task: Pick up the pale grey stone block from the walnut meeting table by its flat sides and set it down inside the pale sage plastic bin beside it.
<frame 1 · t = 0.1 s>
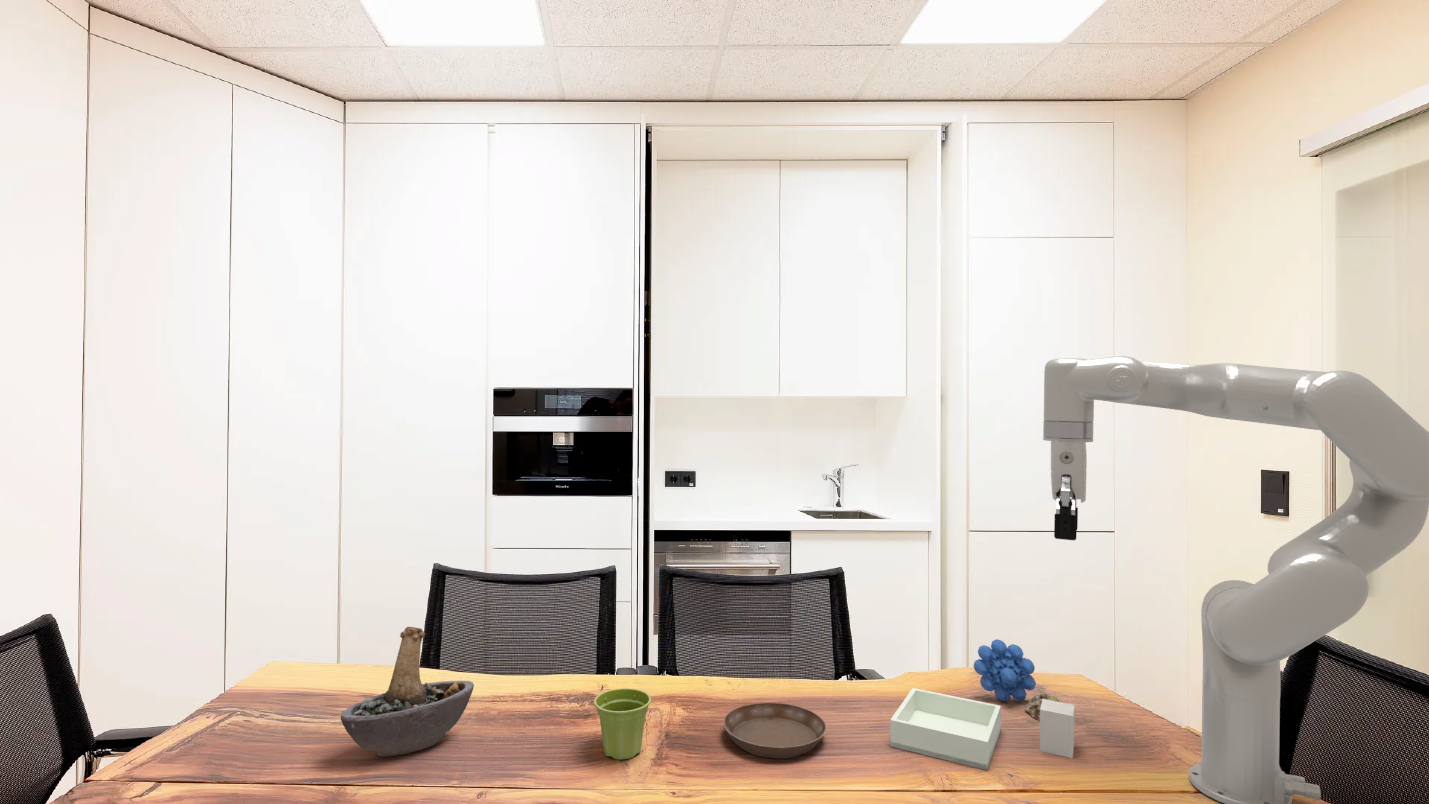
hand: (1066, 534, 120), 37 cm above the table, tool pointing down, fingers open, 9 cm apart
plant saucer: (774, 741, 124), on the table
blue knobby lump: (1005, 704, 140), on the table
stone block: (1056, 748, 122), on the table
mineral rock: (1049, 718, 134), on the table
sage bin: (946, 738, 125), on the table
planter: (409, 750, 119), on the table
plant pot: (622, 752, 119), on the table
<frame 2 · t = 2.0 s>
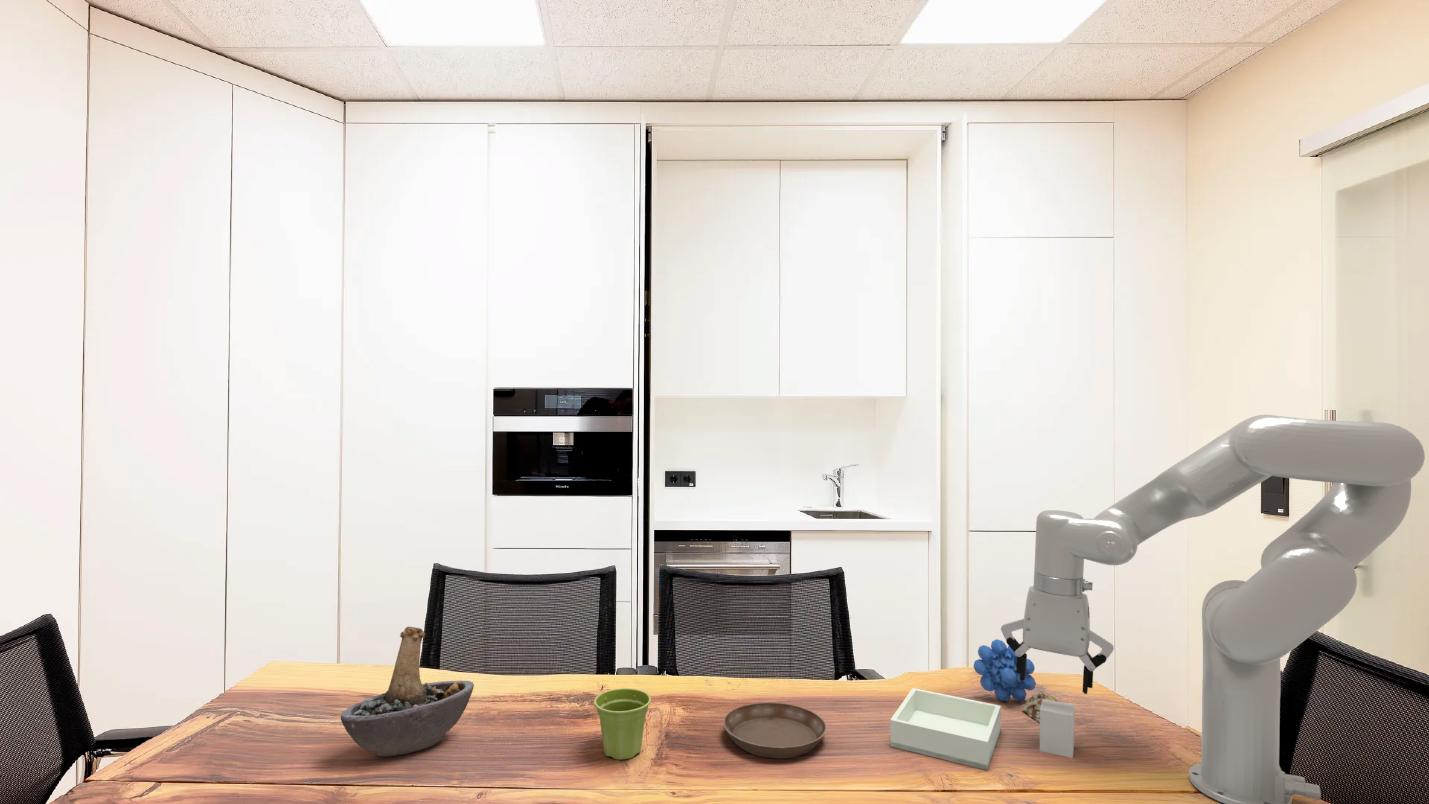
hand: (1053, 684, 122), 11 cm above the table, tool pointing down, fingers open, 9 cm apart
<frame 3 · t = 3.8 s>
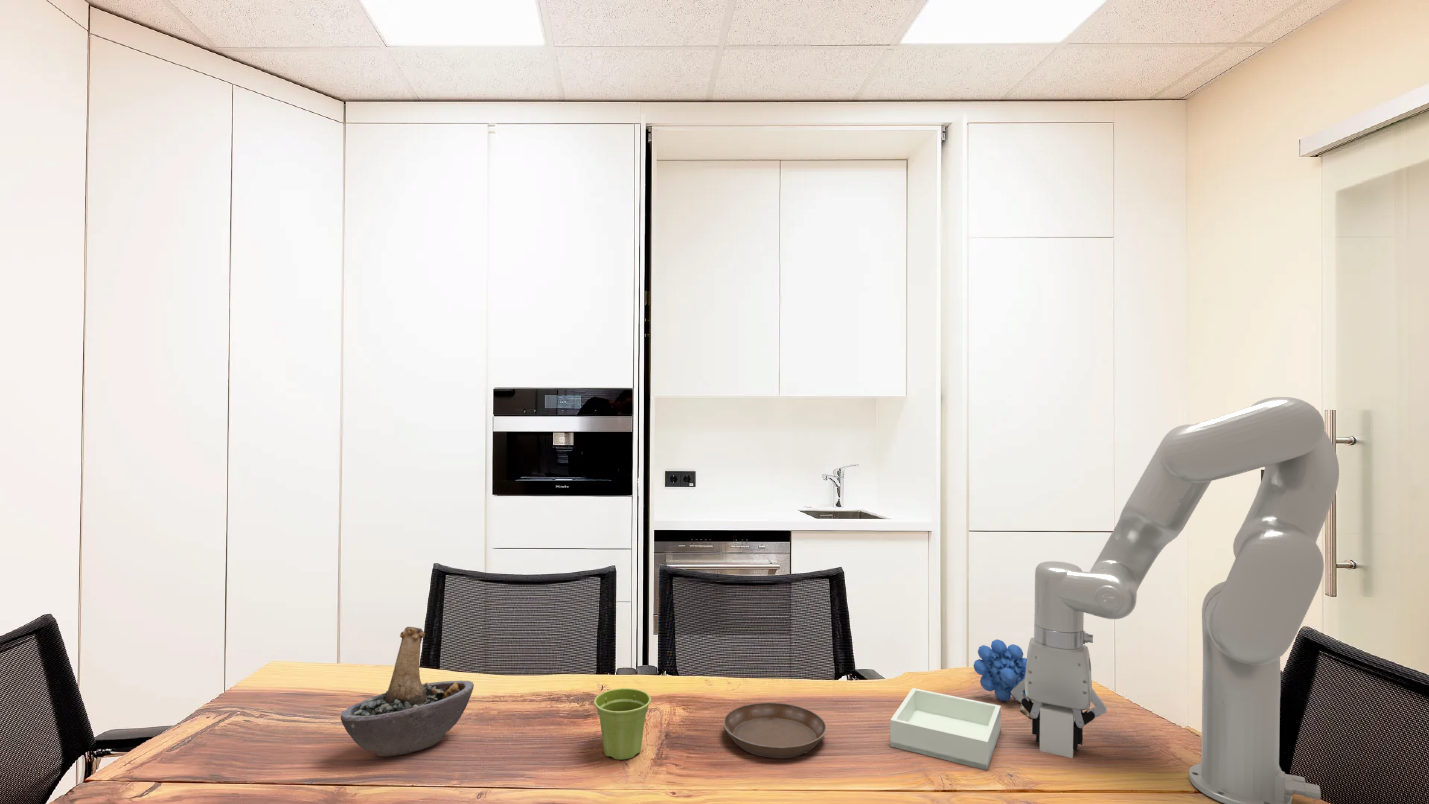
hand: (1056, 742, 122), 1 cm above the table, tool pointing down, fingers closed on stone block, 5 cm apart
stone block: (1056, 748, 122), on the table, touching gripper
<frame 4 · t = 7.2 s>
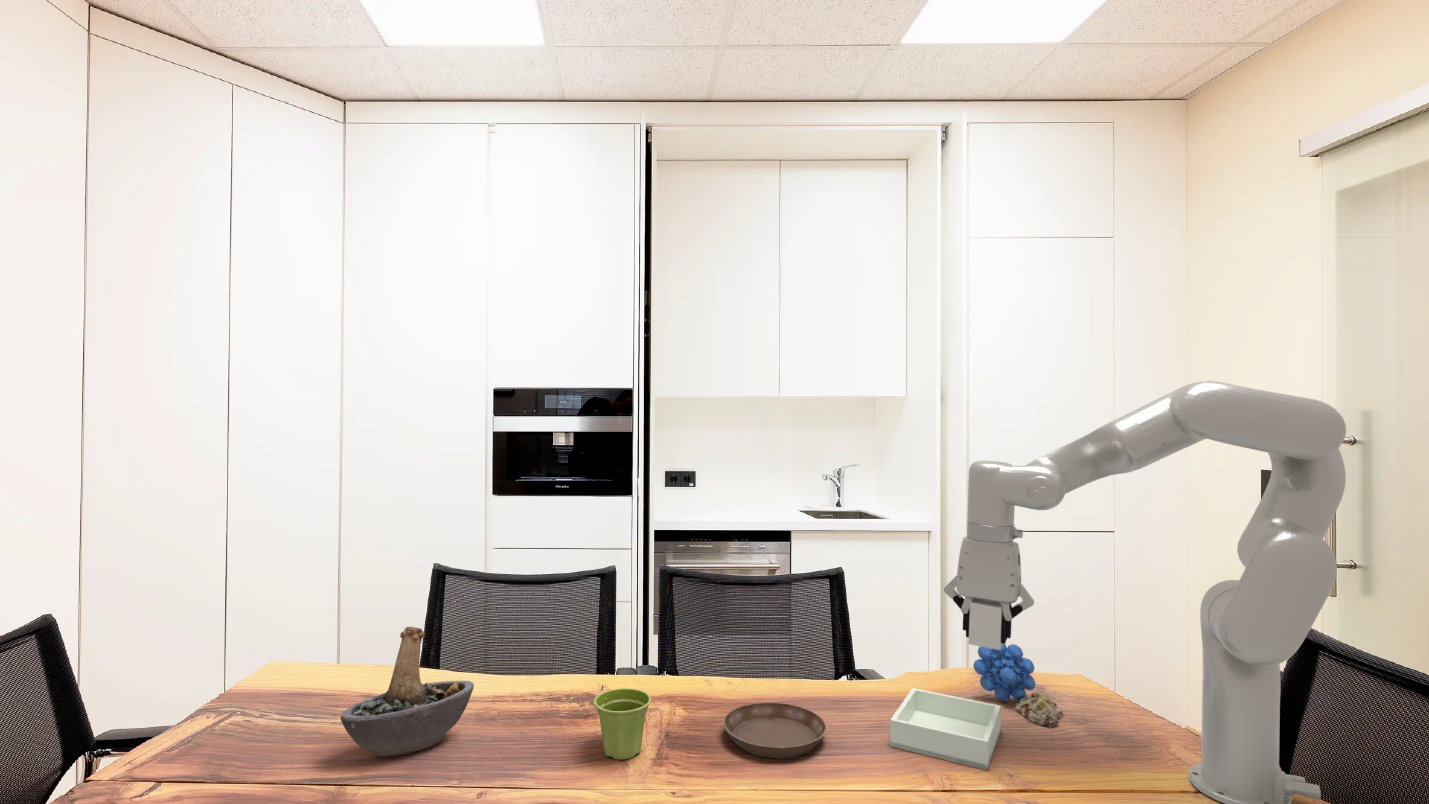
hand: (986, 637, 124), 18 cm above the table, tool pointing down, fingers closed on stone block, 5 cm apart
stone block: (986, 642, 124), point 17 cm above the table, touching gripper
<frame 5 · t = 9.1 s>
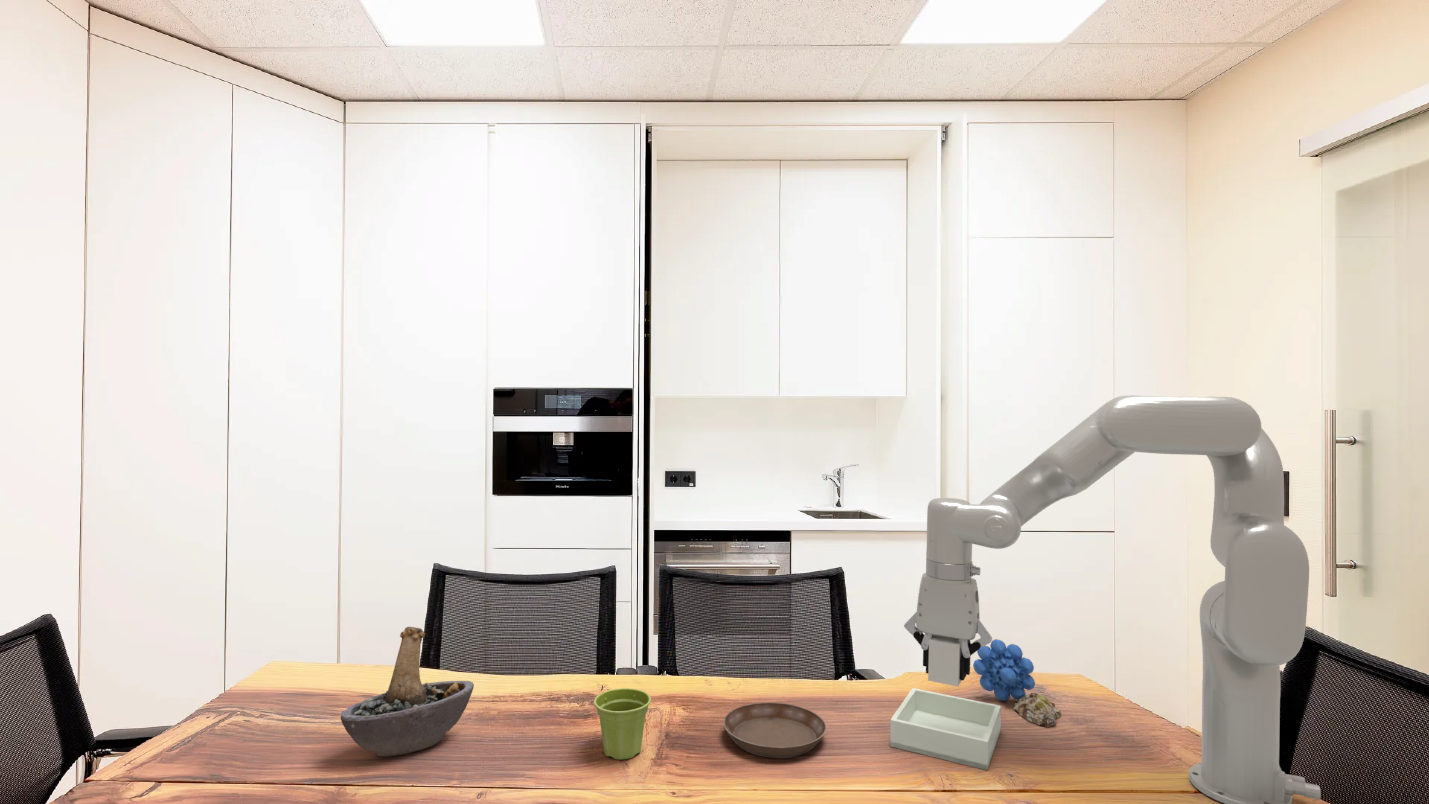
hand: (946, 673, 125), 11 cm above the table, tool pointing down, fingers closed on stone block, 5 cm apart
stone block: (946, 678, 125), point 10 cm above the table, touching gripper
when the fingers open (4 cm above the table, at t = 10.8 s): stone block drops 2 cm, resting on sage bin.
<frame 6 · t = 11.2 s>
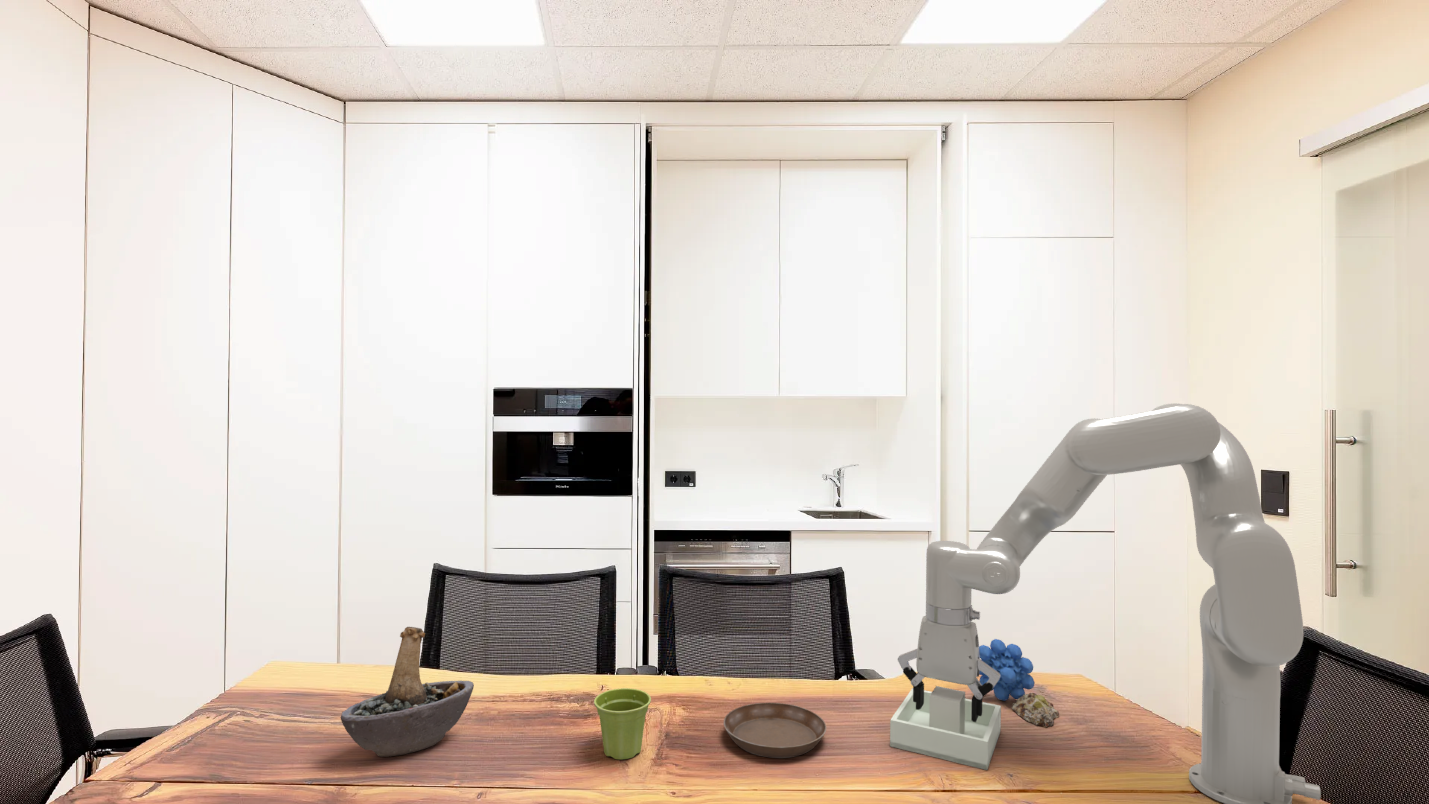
hand: (946, 712, 125), 5 cm above the table, tool pointing down, fingers open, 9 cm apart
stone block: (947, 733, 125), point 1 cm above the table, touching sage bin
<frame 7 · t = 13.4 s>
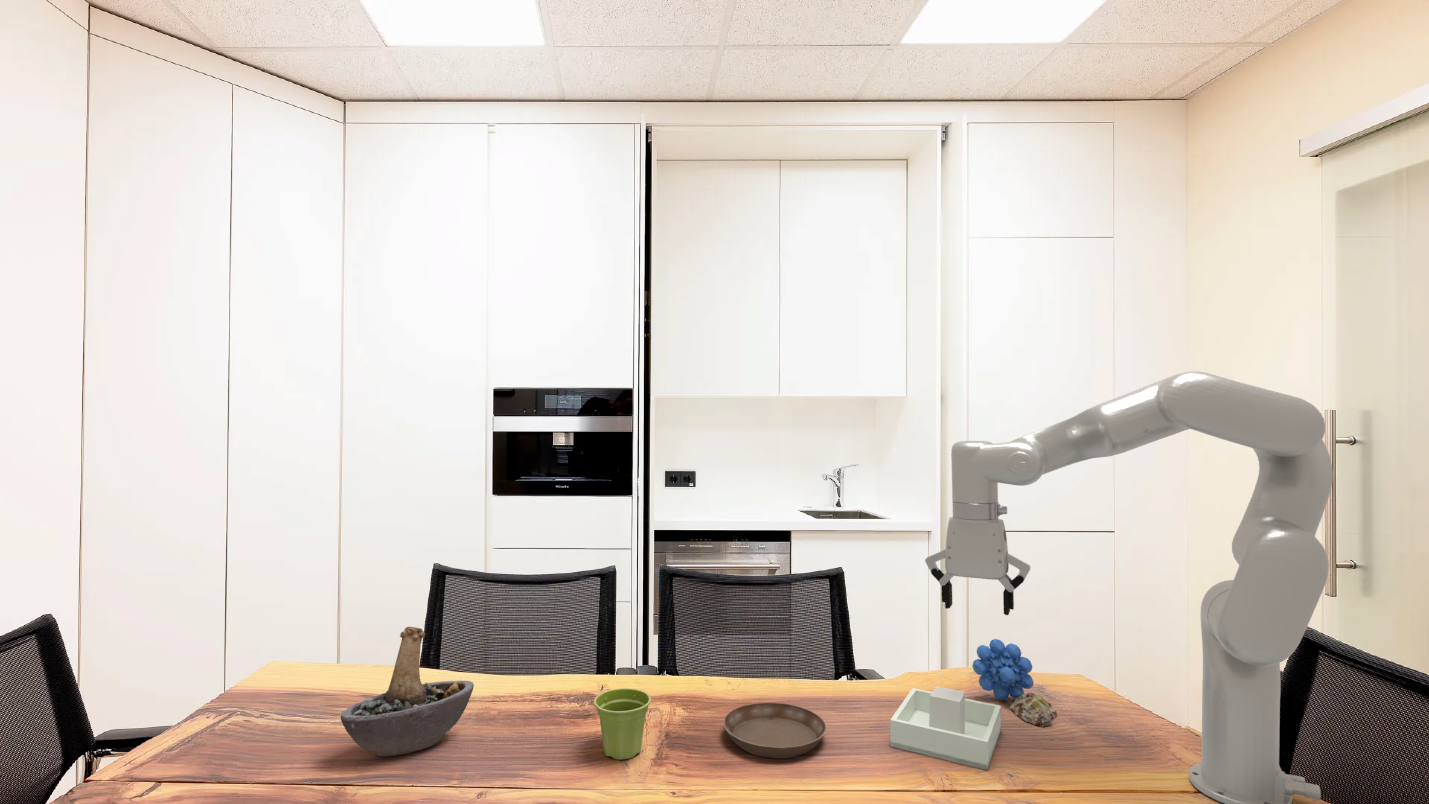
hand: (977, 609, 125), 22 cm above the table, tool pointing down, fingers open, 9 cm apart
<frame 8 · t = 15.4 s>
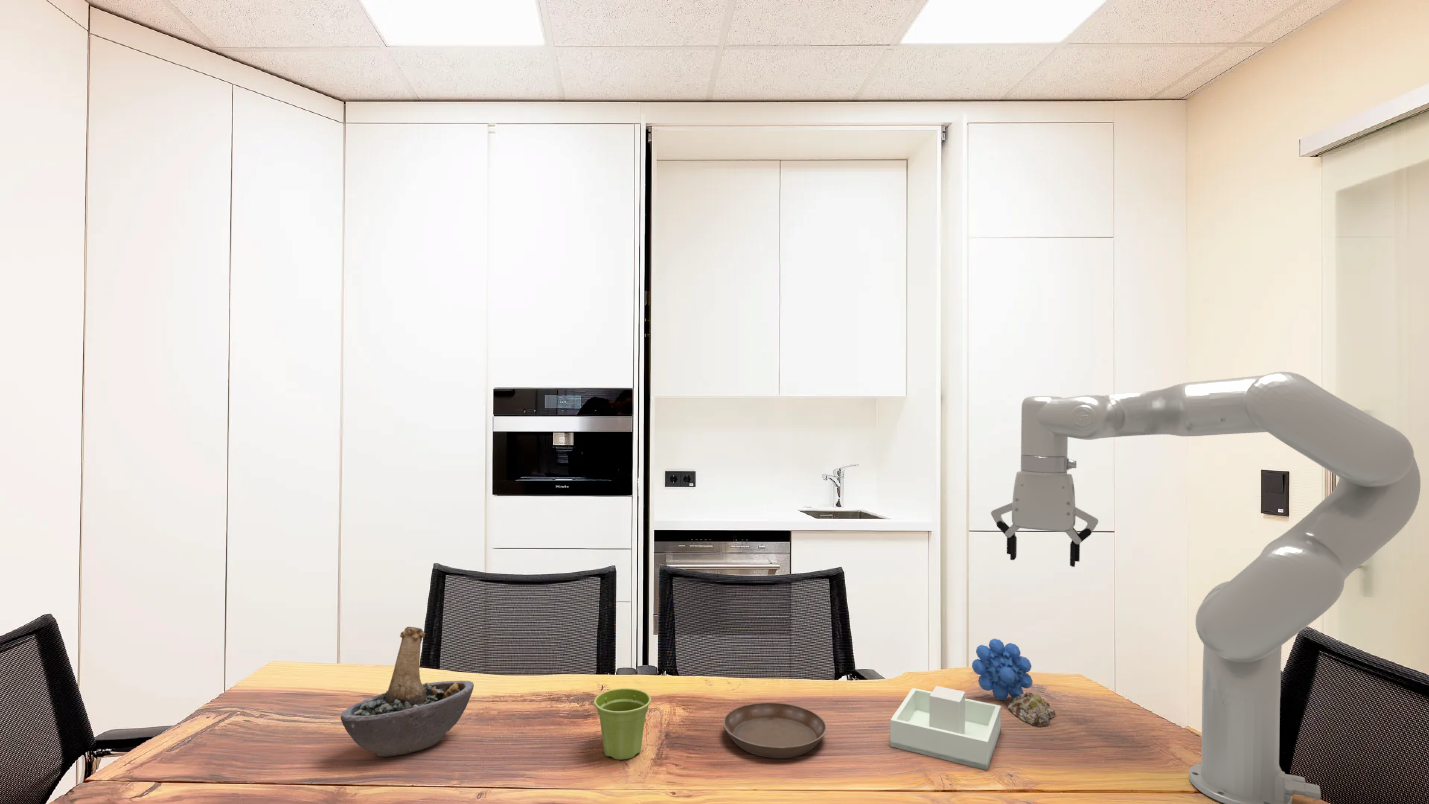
hand: (1042, 561, 128), 30 cm above the table, tool pointing down, fingers open, 9 cm apart
at the end: stone block inside the target area on the sage bin (0.1 cm from its centre), point 0.8 cm above the sage bin's base; stone block tilted 0°; the gripper is holding nothing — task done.
